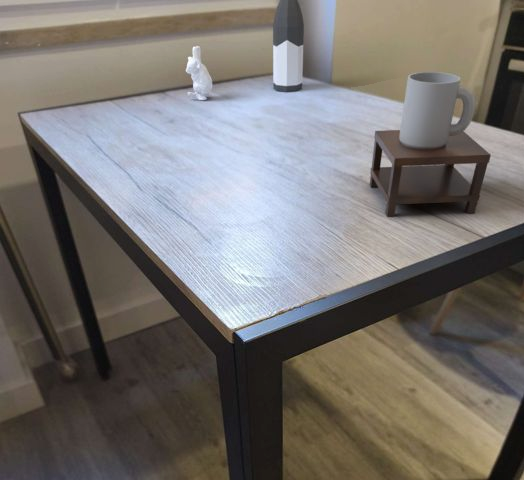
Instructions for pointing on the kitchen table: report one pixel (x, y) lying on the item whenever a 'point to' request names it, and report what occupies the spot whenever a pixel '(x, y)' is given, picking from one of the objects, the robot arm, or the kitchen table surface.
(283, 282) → the kitchen table surface
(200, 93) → the white upright figurine
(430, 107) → the cup
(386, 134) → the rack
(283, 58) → the wine bottle
